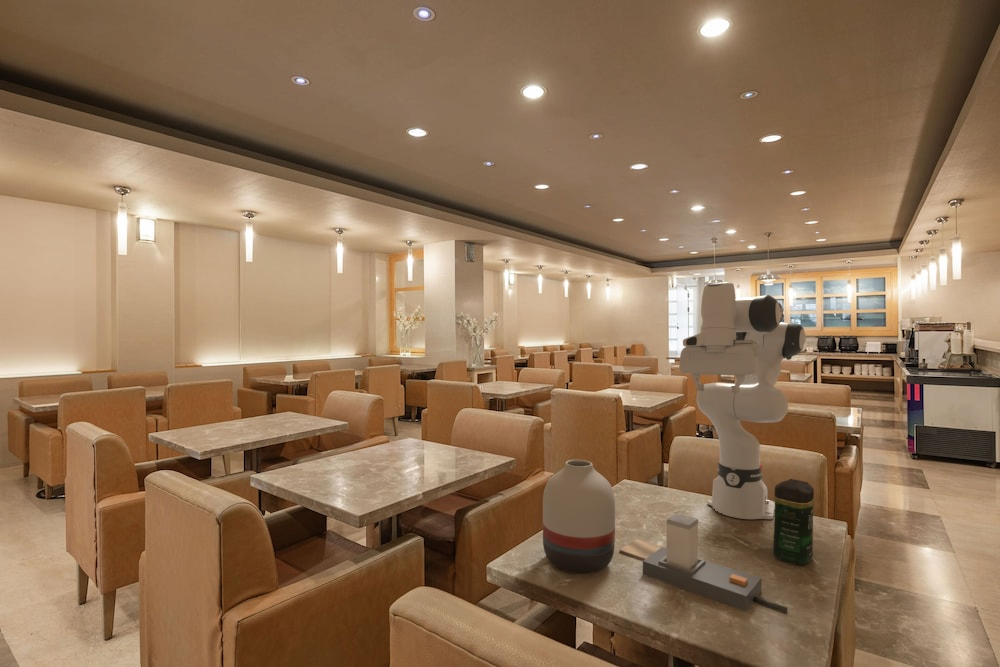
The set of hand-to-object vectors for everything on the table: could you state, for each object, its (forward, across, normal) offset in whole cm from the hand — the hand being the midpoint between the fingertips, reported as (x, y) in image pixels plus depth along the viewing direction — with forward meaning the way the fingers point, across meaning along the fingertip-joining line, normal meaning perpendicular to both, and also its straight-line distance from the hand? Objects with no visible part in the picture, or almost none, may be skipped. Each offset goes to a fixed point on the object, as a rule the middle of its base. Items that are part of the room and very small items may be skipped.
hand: (717, 391), depth 135 cm
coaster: (+41, +10, +18) cm, 46 cm away
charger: (+39, -2, +23) cm, 46 cm away
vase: (+43, +18, +34) cm, 58 cm away
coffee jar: (+40, -17, -6) cm, 43 cm away
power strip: (+42, -9, +23) cm, 49 cm away
